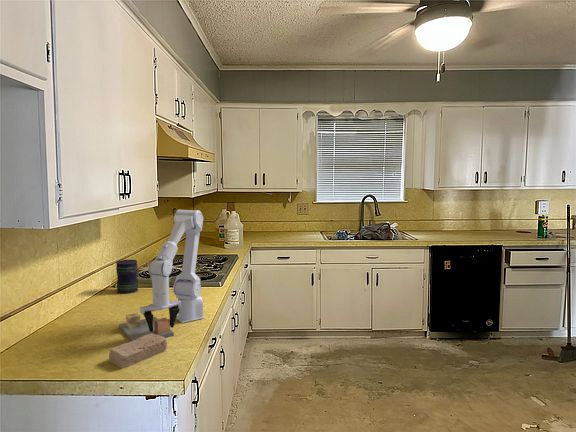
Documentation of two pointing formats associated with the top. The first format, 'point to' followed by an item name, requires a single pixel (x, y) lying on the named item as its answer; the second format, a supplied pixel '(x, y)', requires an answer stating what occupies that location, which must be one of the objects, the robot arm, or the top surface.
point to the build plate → (142, 330)
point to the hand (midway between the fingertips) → (161, 328)
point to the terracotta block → (161, 325)
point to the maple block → (133, 320)
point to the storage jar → (127, 276)
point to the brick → (137, 350)
